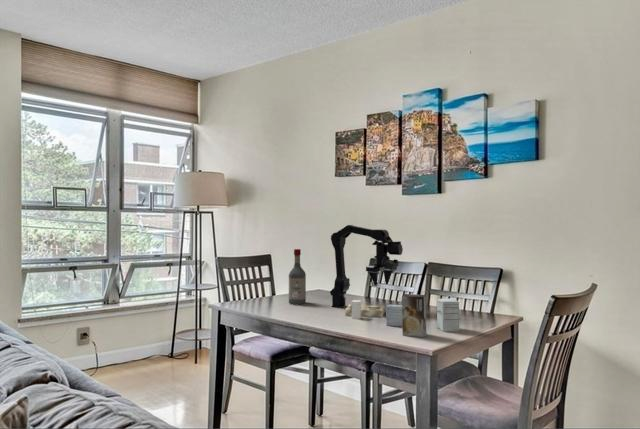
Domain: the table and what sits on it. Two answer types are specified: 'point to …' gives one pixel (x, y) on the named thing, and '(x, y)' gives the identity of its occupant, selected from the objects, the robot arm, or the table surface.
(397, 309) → the medicine box
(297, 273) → the liquor
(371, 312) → the socket block
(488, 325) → the table surface
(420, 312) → the coffee box
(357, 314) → the white squarish block
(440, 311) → the supplement box
